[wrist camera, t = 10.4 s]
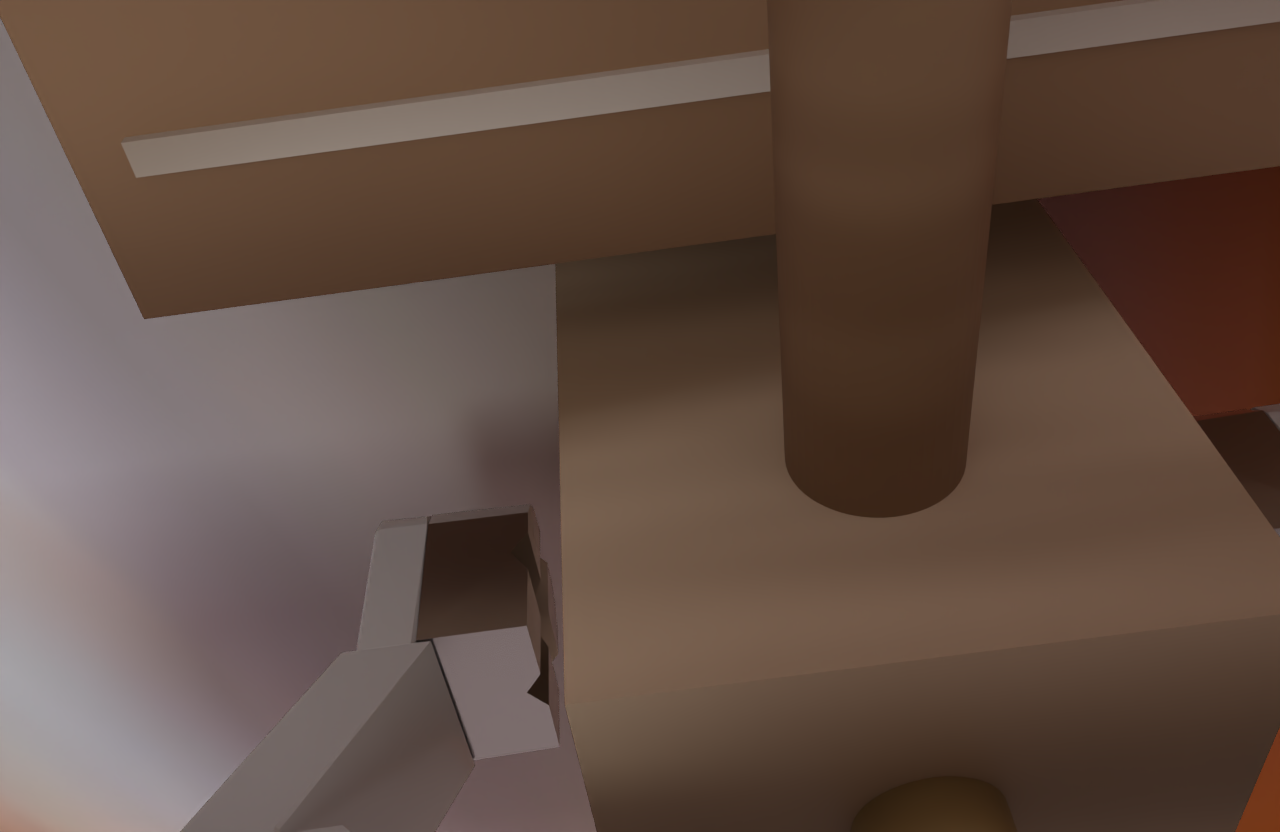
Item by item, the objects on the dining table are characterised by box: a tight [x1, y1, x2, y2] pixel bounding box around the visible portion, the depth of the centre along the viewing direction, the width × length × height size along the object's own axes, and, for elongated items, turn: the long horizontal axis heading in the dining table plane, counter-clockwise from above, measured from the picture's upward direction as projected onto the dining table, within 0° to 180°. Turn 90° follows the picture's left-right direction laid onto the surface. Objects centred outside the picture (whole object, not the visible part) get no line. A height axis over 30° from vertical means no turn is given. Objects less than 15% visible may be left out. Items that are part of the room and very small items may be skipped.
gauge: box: [555, 0, 1280, 832], centre depth 8 cm, size 12×5×7 cm, turn 6°
